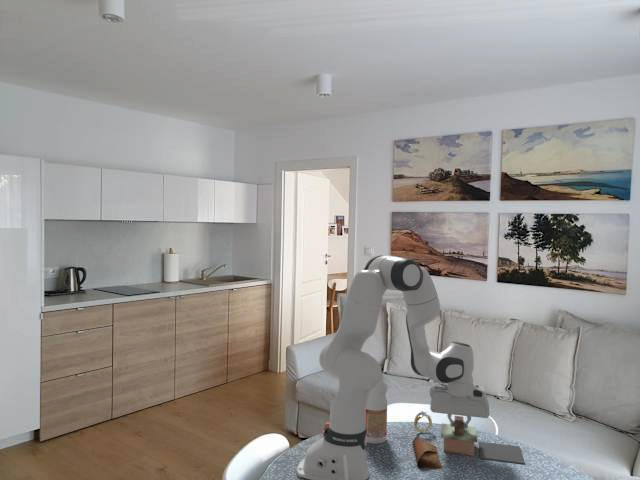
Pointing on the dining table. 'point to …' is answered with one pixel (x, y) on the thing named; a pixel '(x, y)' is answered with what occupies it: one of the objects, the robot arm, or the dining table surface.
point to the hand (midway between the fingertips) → (459, 427)
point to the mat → (500, 452)
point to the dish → (459, 446)
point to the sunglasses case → (426, 454)
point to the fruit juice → (377, 413)
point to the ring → (422, 414)
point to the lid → (459, 431)
